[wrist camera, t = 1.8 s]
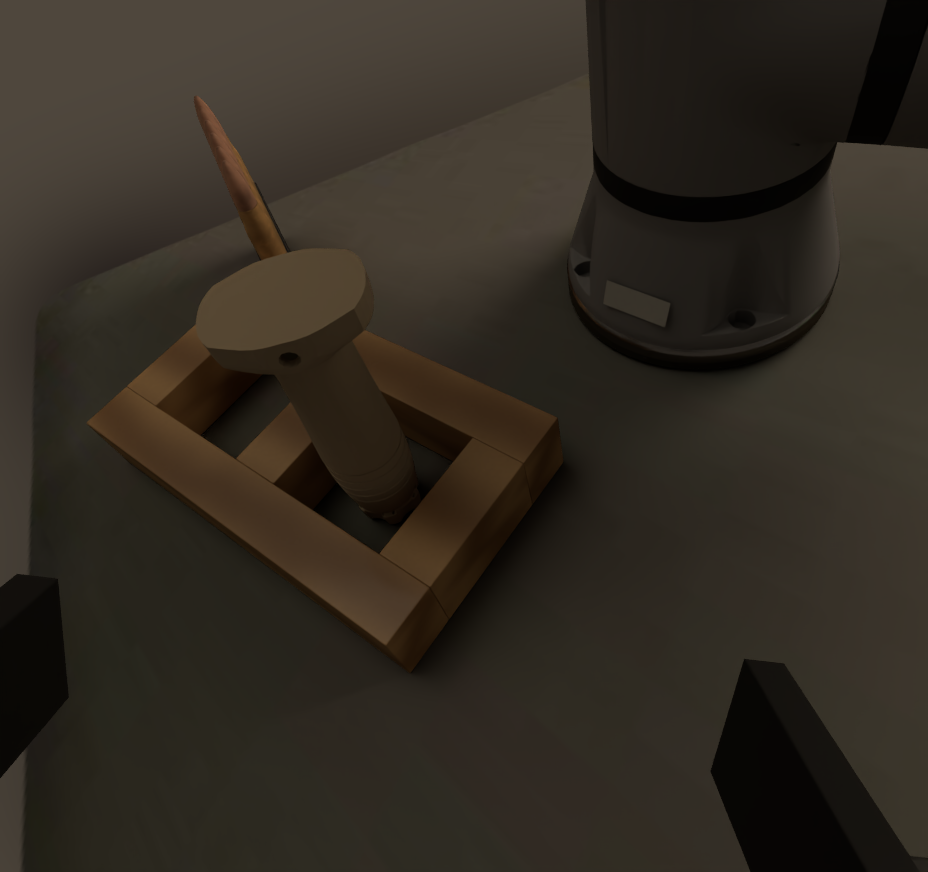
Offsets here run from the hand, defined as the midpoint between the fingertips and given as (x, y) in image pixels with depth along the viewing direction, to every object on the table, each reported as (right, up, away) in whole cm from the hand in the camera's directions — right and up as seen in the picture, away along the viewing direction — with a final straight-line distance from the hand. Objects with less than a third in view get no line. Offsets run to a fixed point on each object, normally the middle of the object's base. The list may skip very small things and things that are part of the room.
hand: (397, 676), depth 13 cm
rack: (-6, +3, +26) cm, 27 cm away
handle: (-2, +1, +23) cm, 24 cm away
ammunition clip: (-11, +16, +36) cm, 41 cm away
